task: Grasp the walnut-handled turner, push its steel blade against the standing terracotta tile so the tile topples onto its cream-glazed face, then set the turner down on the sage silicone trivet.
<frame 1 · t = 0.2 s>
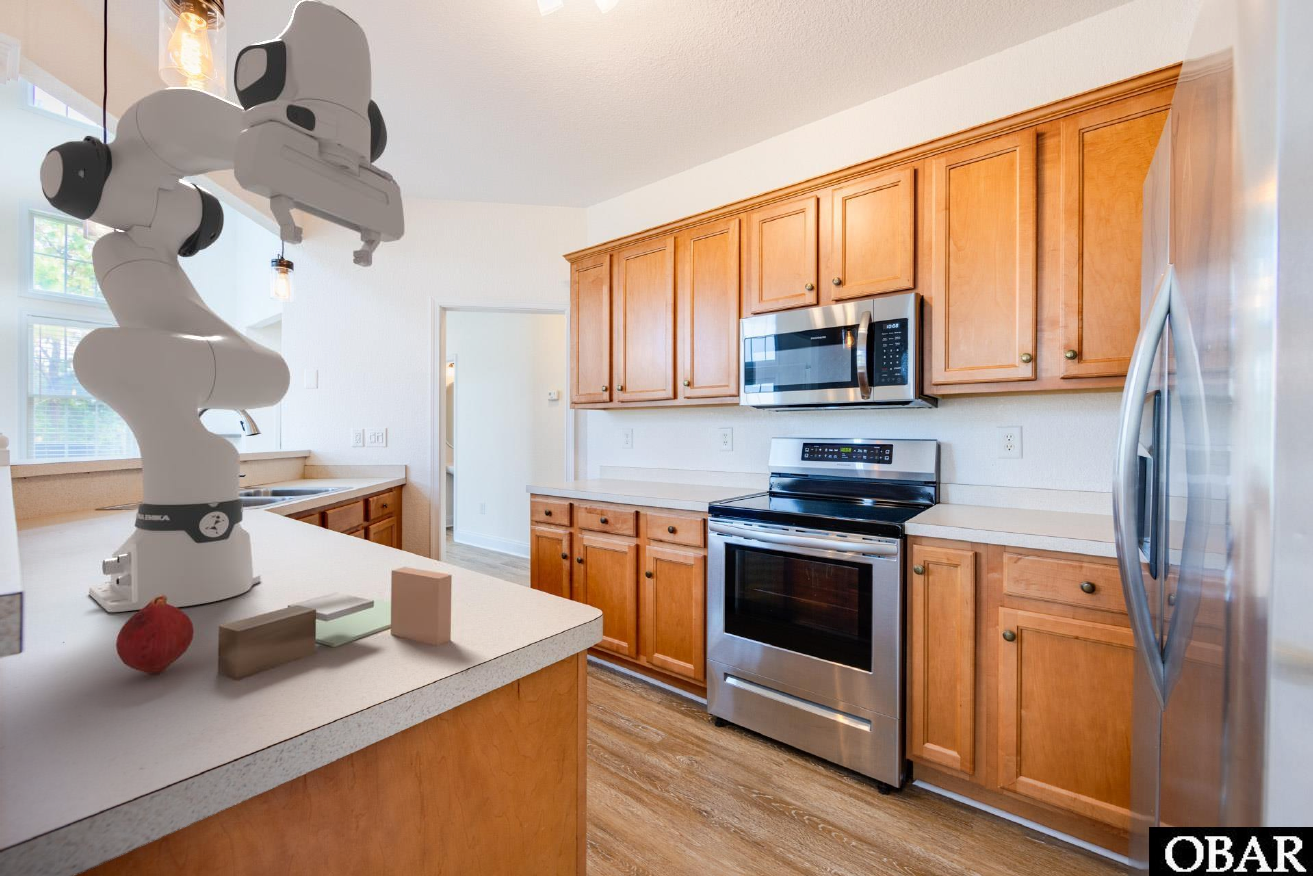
hand: (329, 254, 70), 47 cm above the counter, fingers open, 8 cm apart
tile: (420, 637, 68), on the counter
trivet: (354, 621, 74), on the counter
onion: (155, 676, 57), on the counter
turner: (269, 663, 60), on the counter
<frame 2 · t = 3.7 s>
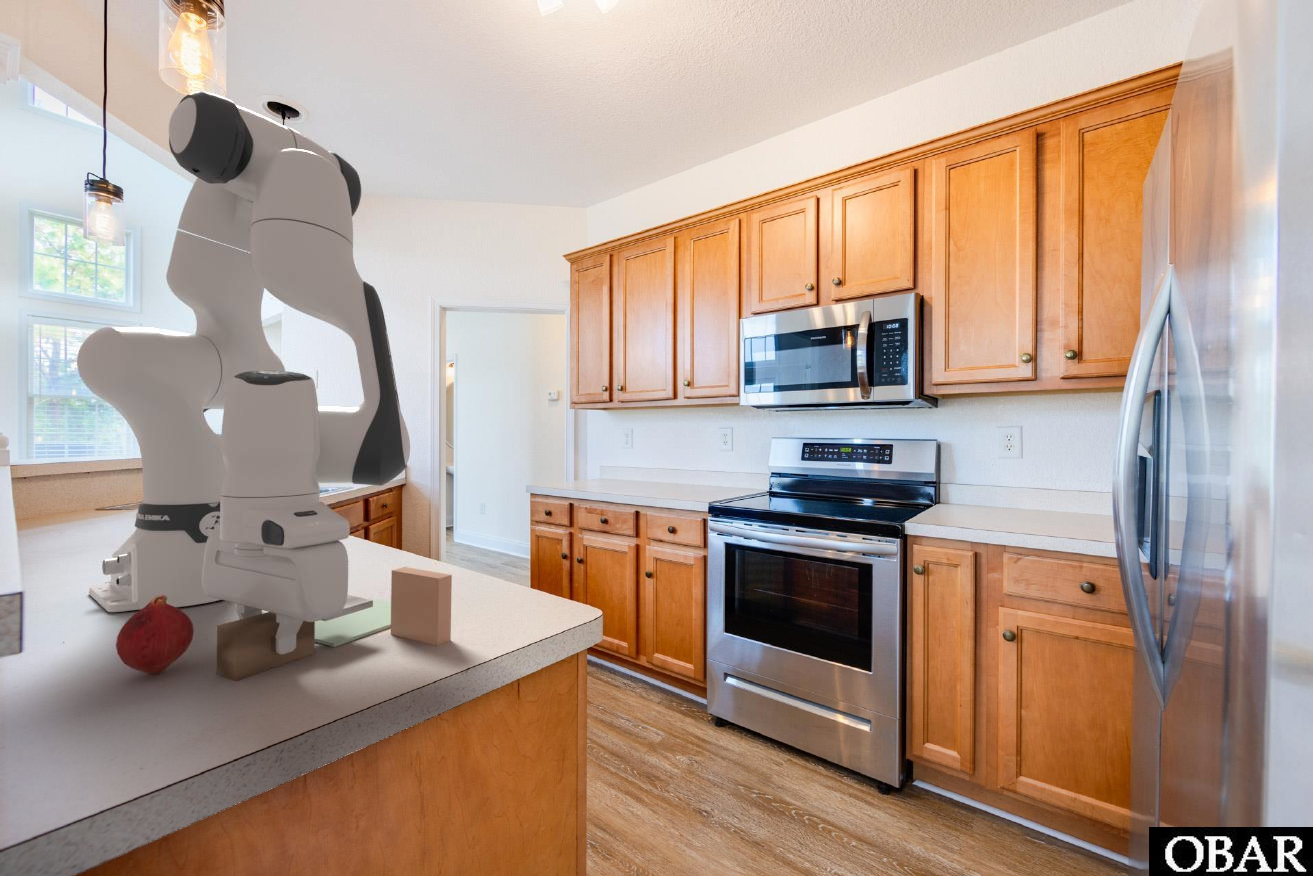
hand: (269, 647, 60), 2 cm above the counter, fingers closed on turner, 3 cm apart
turner: (267, 663, 60), on the counter, touching gripper
everything else where it was.
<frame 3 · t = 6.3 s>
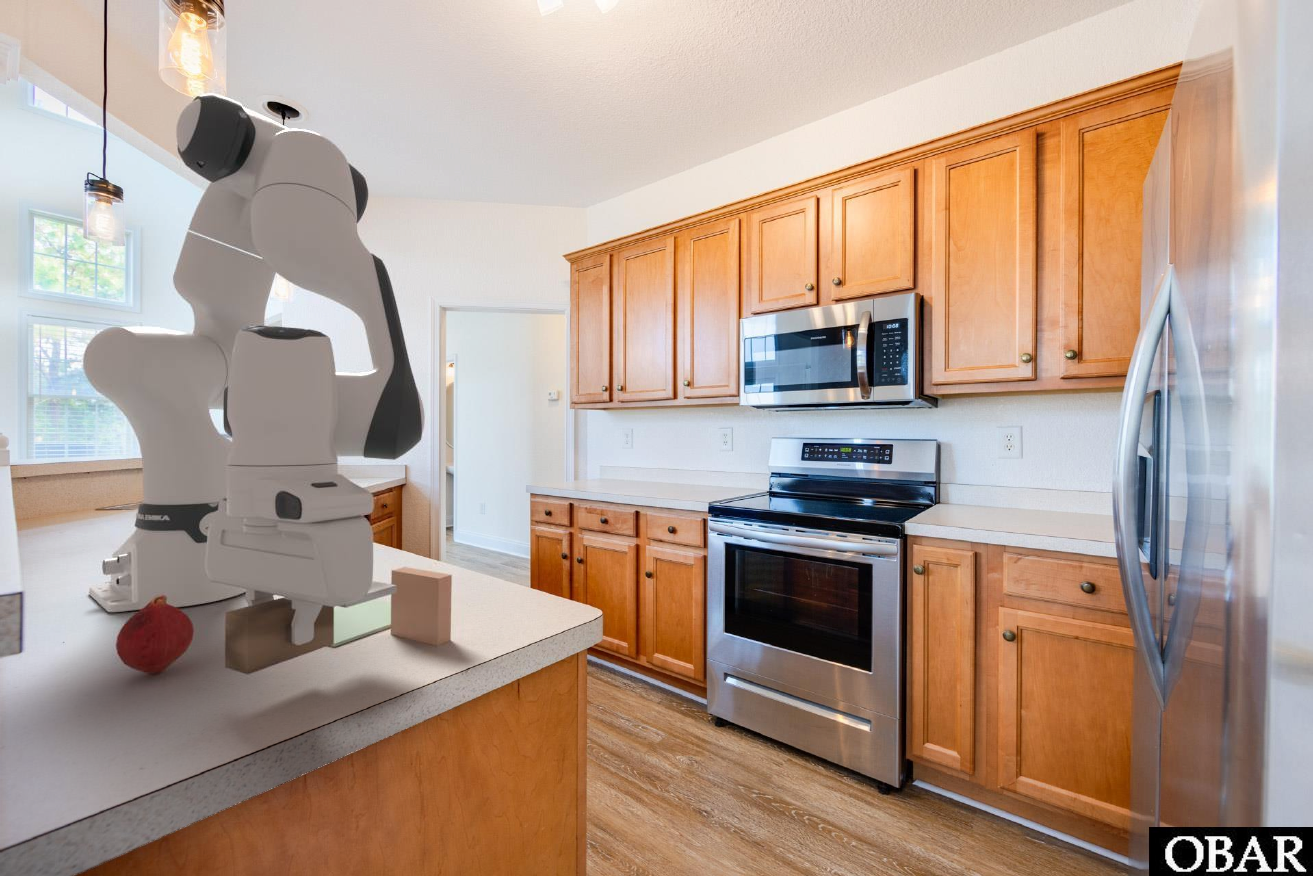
hand: (283, 638, 53), 5 cm above the counter, fingers closed on turner, 3 cm apart
turner: (282, 655, 53), point 4 cm above the counter, touching gripper
everything else where it was.
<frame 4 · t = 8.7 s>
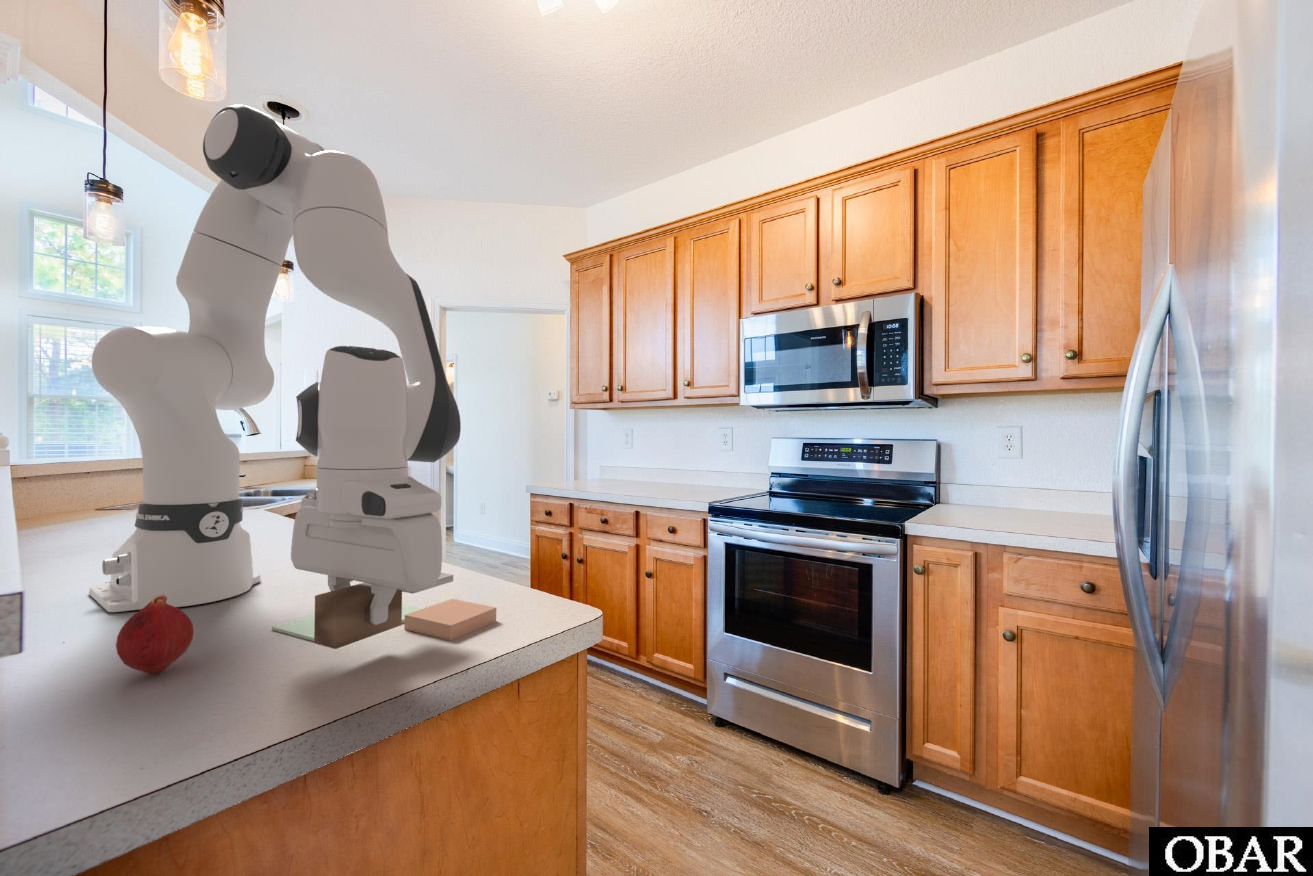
hand: (361, 618, 61), 5 cm above the counter, fingers closed on turner, 3 cm apart
tile: (427, 628, 69), point 1 cm above the counter, tilted 90°
turner: (359, 633, 61), point 3 cm above the counter, touching gripper
everything else where it was.
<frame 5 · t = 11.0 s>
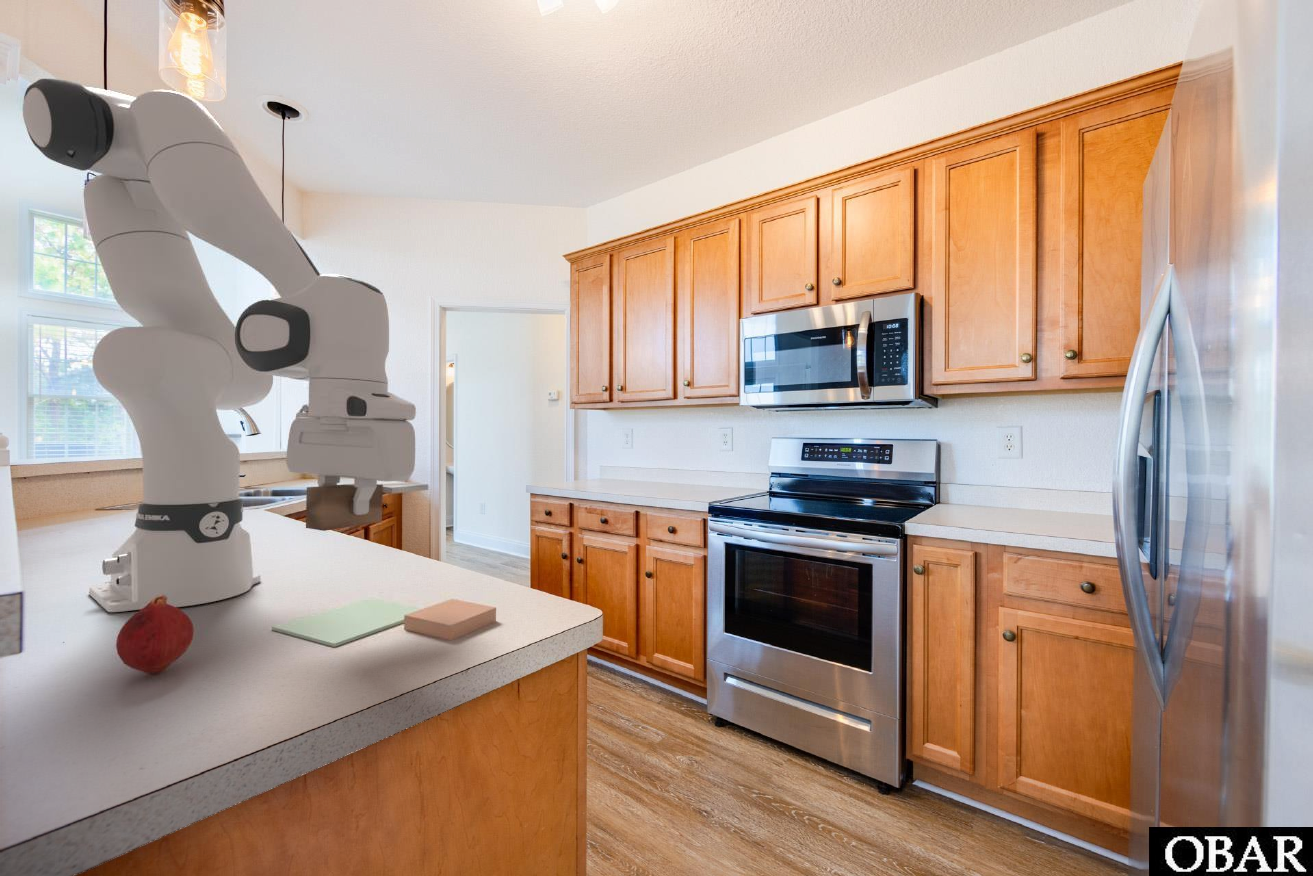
hand: (346, 512, 71), 15 cm above the counter, fingers closed on turner, 3 cm apart
turner: (345, 524, 71), point 13 cm above the counter, touching gripper
everything else where it was.
when the fingers open (3 cm above the counter, at t = 13.2 s): turner stays where it is, resting on trivet.
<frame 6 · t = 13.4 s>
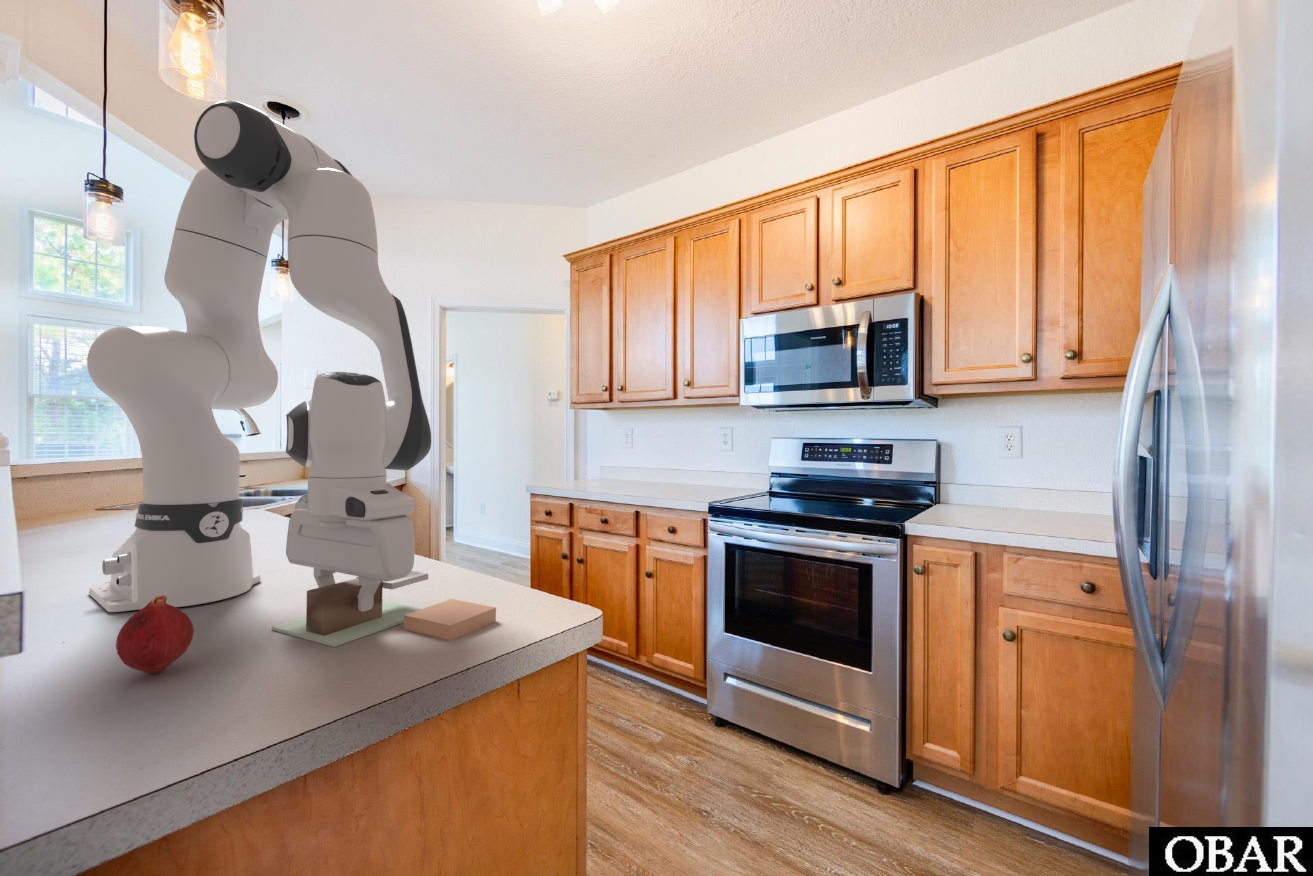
hand: (346, 605, 71), 3 cm above the counter, fingers open, 5 cm apart
turner: (345, 623, 71), resting on trivet
everything else where it was.
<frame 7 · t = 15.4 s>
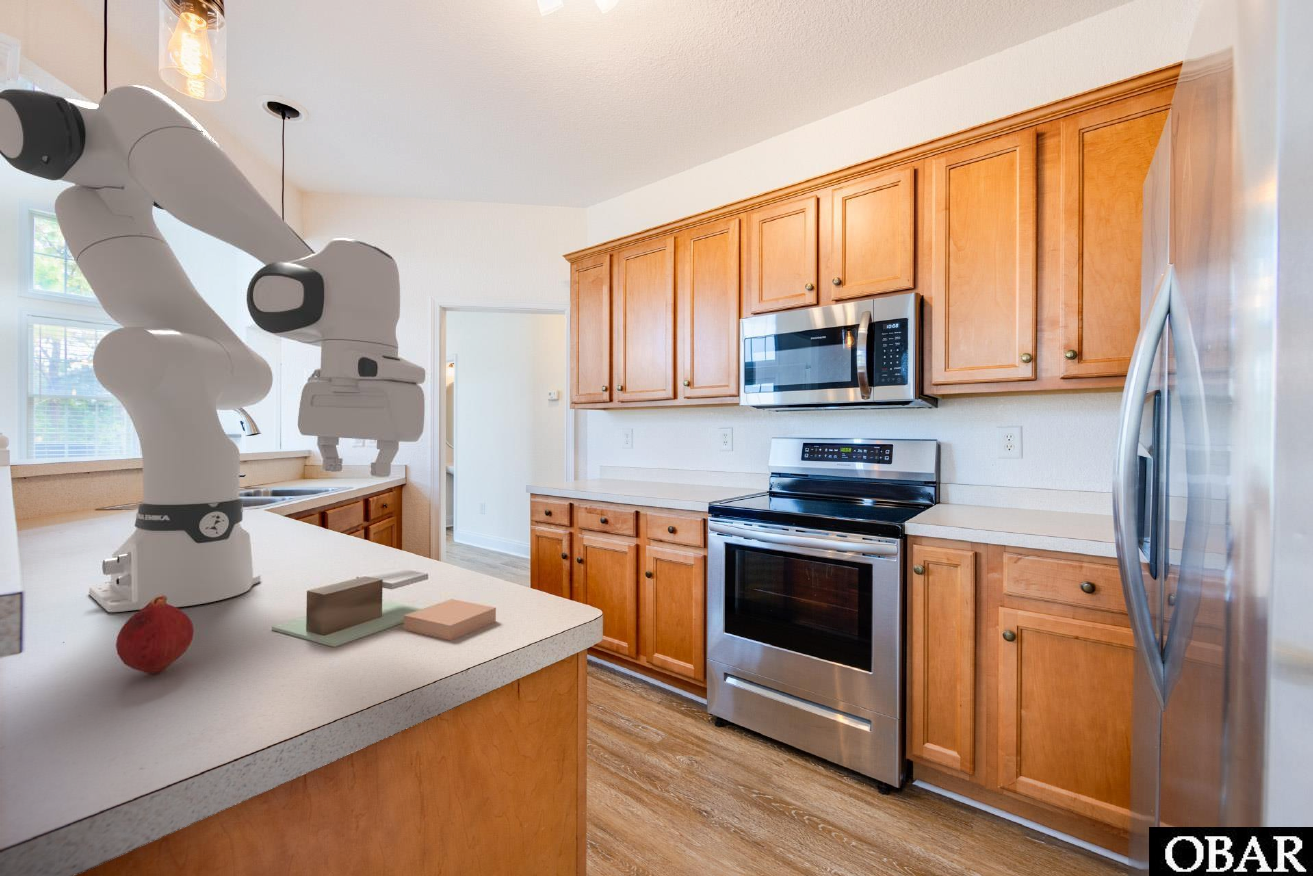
hand: (355, 474, 72), 20 cm above the counter, fingers open, 8 cm apart
nothing on the counter moved.
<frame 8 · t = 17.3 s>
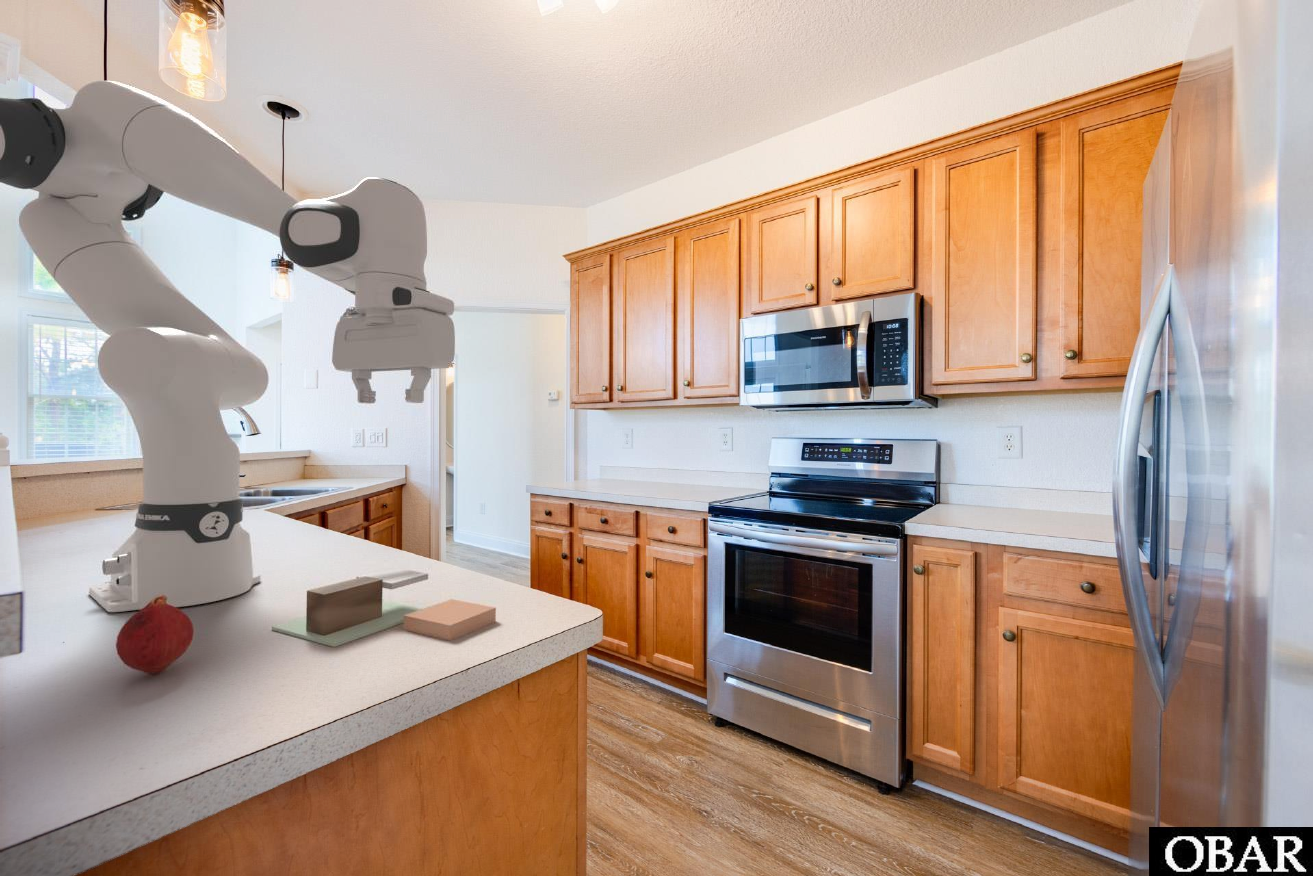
hand: (389, 403, 77), 29 cm above the counter, fingers open, 8 cm apart
nothing on the counter moved.
at the end: tile tilted 90°; turner inside the target area on the trivet (1.3 cm from its centre), point 0.4 cm above the trivet's base; the gripper is holding nothing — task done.
